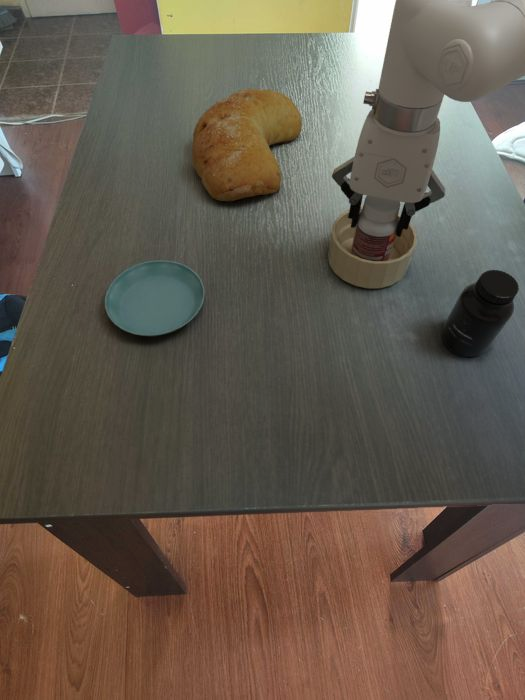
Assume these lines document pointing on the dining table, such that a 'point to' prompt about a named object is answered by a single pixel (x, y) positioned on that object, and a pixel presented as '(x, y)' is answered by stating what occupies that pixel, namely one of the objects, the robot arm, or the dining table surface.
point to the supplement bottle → (480, 313)
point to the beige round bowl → (367, 270)
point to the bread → (243, 143)
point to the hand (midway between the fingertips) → (376, 225)
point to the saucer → (154, 298)
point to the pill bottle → (376, 229)
